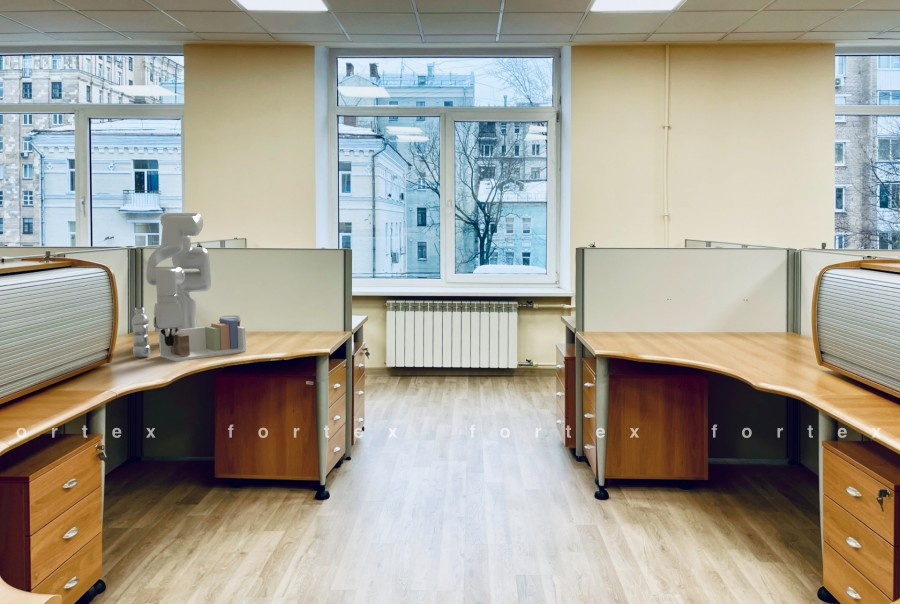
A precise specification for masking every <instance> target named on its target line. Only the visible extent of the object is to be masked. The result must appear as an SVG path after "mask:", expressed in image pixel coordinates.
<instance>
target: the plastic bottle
mask: <svg viewBox="0 0 900 604" xmlns="http://www.w3.org/2000/svg"><path fill="white" fill-rule="evenodd" d="M145 312H146V311H145V307H134V313H135V314H134V315H133V316H132V318H131V326H132V330H133V331H132V332H133V347H132V354H133V356H134V357H135V358H146V357H149V356H150V354H151V346H150V341H149V325H150V320H149V318H148V317H147V315H146V314H145Z"/></svg>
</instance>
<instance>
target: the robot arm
mask: <svg viewBox="0 0 900 604" xmlns="http://www.w3.org/2000/svg"><path fill="white" fill-rule="evenodd" d="M160 224H161V227H162V228H161V229H162V230H161V238H160V239H161V240H160V241H161V243H160V246H159V247H157V248H156V249H154V251H153V252H152V253H151V254H150V256H149V257H148V260H147V263H146V264H147V266H146V274H145V276H146V277H145V278H146V281H147V283H148V284H149V285H150V286H156V302H157V303H154V309H153V326H154V332H156V333H159V332H160V333H162V334H163V335H164V336H165V344H166V345H167V346H173V343H174V335H175V333H176V332H177V331H179V330H181V329H190V328H198V327H197V325H198V324H197V309H196V308H197V307H196V305H197V304H196V299H195V298H194V297H193V295H192V294H191V292H192V293H193V292H195V293H196V292H198V293H199V292H200V293H202V292H207V291H210V289H211V287H212V277H211V264H210V263H211V262H210V261H211V260H210V254H209V252H208V250H207V249H206V248H203V247H192V242H191V237H196V236H198V235H199V234H200V233H201V231H202V230H203V228H204V227H203V226H204V219H203V216H202V214H201V213H199V212H169V213H168V212H167V213H164V214H161V216H160ZM170 258H171V261H172V265H173V266H158V264H160V263H161V262H163V261H165V260H167V259H170ZM193 269H194V270H193ZM196 269H197V270H196ZM168 331H169V332H168Z"/></svg>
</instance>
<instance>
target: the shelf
mask: <svg viewBox="0 0 900 604" xmlns="http://www.w3.org/2000/svg"><path fill="white" fill-rule="evenodd" d="M219 320H220V321H219V322H212V323H210V325H209V326H202V327H197V328H190V329H181V330H179V331H177V332H176V333H181V334H185V335H189V350H190V355H189V356H180V355H176V354H173V353H171V346H167V345H166V344H165V336H164V335H163V334H162V333H160V332H158V344H159V357H160V358H163V359H167V360H170V361H173V362H182V361H187V360H188V361H190V360H195V359H202V358H209V357H210V358H211V357H216V356H223V355H232V354H239V353H245V352H247V349H246V348H247V347H246V346H247V345H246V344H247V343H246V341H247V340H246V327H243V326H240V327H238V322H237V320H234V319H229V318H221V319H220V318H219ZM168 332H169V330H168Z"/></svg>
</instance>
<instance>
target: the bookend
mask: <svg viewBox="0 0 900 604" xmlns="http://www.w3.org/2000/svg"><path fill="white" fill-rule="evenodd" d="M171 353H173V354H176V355H180V356H189V355H190V350H189V335H185V334H181V333H175V335H174V343H173V346H171Z"/></svg>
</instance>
